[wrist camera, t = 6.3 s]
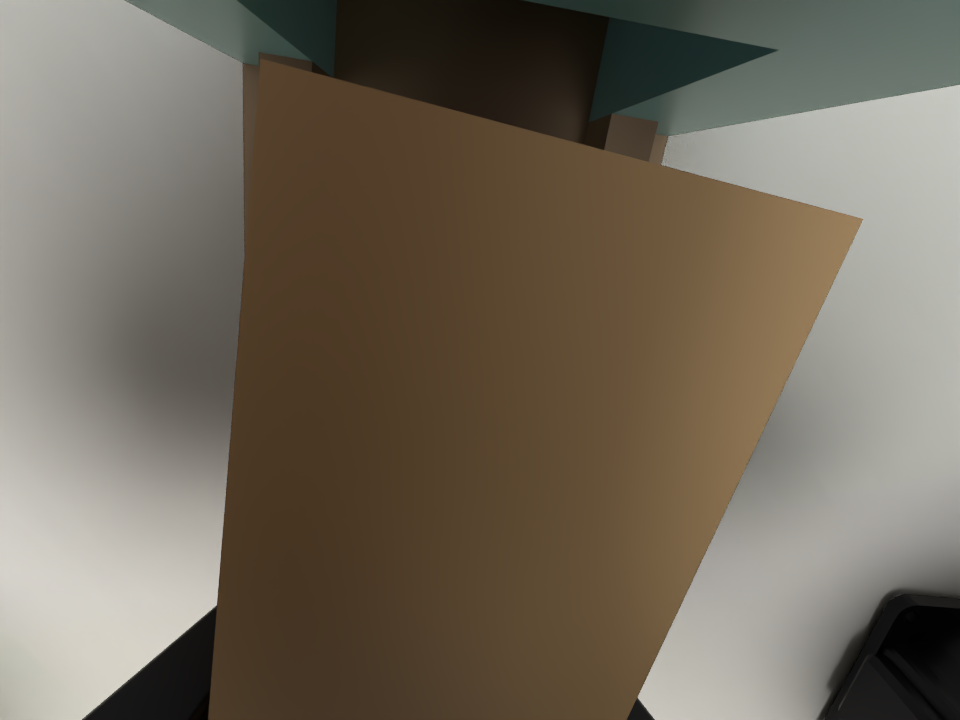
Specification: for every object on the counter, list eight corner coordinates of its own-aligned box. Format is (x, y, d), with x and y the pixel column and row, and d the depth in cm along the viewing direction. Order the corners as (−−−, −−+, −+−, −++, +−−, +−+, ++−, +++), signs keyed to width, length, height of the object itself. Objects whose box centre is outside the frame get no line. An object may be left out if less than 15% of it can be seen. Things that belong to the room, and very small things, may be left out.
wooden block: (616, 192, 8) (863, 219, 3) (434, 779, 12) (423, 1152, 8) (383, 133, 7) (260, 58, 3) (284, 765, 12) (174, 1149, 7)
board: (729, -197, 9) (828, -328, 7) (528, 644, 16) (541, 727, 13) (263, -311, 8) (186, -506, 6) (261, 626, 15) (226, 711, 12)
